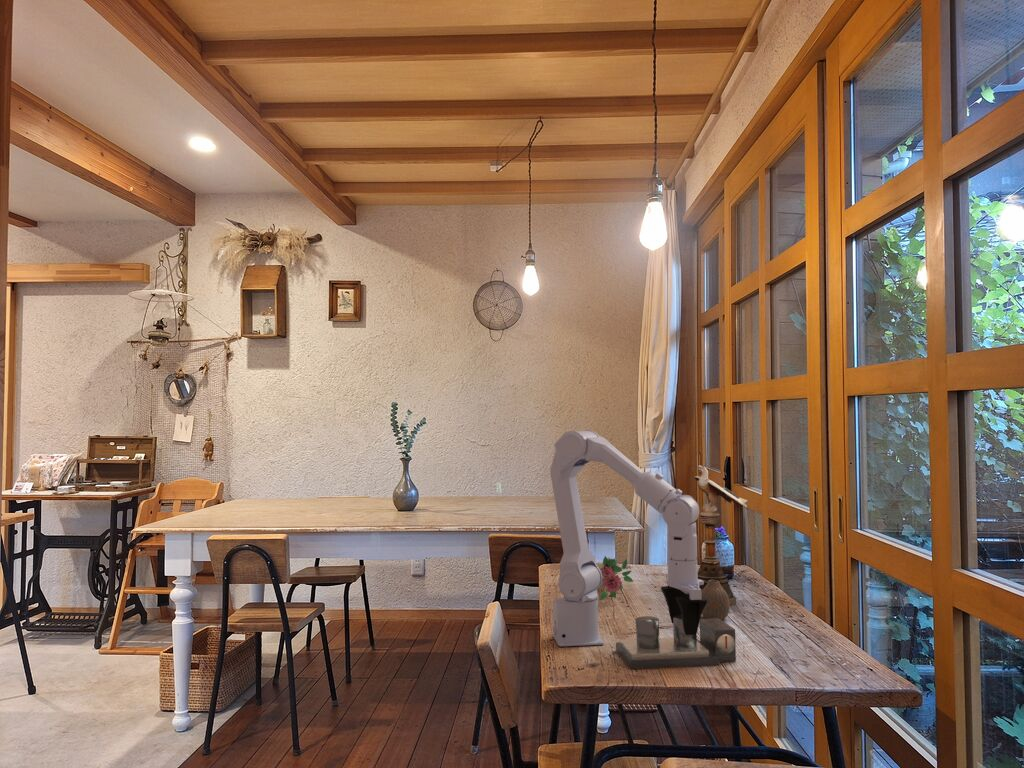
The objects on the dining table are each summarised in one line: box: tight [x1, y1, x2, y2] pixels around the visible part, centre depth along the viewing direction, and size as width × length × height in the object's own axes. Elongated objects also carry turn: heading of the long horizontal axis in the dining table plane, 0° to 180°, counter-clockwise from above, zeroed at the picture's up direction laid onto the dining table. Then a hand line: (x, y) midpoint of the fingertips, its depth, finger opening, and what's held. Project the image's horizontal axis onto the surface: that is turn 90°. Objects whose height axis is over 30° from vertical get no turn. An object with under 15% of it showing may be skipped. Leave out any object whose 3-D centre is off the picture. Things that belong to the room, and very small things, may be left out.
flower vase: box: [596, 555, 634, 601], centre depth 194 cm, size 12×12×35 cm
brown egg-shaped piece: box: [701, 580, 731, 621], centre depth 168 cm, size 7×7×9 cm
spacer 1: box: [635, 615, 660, 649], centre depth 140 cm, size 4×4×5 cm
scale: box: [615, 618, 737, 670], centre depth 141 cm, size 21×11×6 cm, turn 96°
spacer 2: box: [672, 615, 698, 648], centre depth 141 cm, size 4×4×5 cm
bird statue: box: [693, 464, 749, 607], centre depth 185 cm, size 17×13×35 cm
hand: (683, 628), depth 141 cm, fingers open, 7 cm apart
